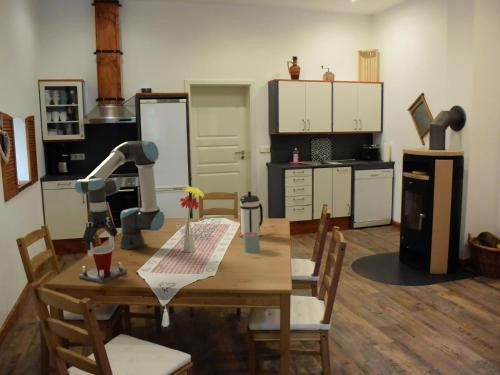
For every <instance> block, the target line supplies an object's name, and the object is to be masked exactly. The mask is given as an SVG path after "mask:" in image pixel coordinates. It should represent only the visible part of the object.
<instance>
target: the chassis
mask: <svg viewBox="0 0 500 375" xmlns="http://www.w3.org/2000/svg"><path fill="white" fill-rule="evenodd" d="M117 266H118V267H115V266H111V267H110V271H109V272H108V273H104V270H103V269H101V270H99V272H100V273H98V271H97V267H96V268H93V269H90V270H88V269H87V265H83V266H81V269H82V270H81V271H82V273H80V274H78V278H79V279H83V280H86V281H87V280H88V281H91V282H96V283H99V282H100V283H101V284H103V283H105V282H108V281H110V280H113V279H115V278H118V277H120V276H122V275H124V274H127V271H128V270H127V269H125V268H123V266H124V265H123V262H122V261H120V262H117ZM100 283H99V284H100Z"/></svg>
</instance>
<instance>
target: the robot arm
mask: <svg viewBox="0 0 500 375" xmlns="http://www.w3.org/2000/svg"><path fill="white" fill-rule="evenodd" d="M159 154H160V153H159V148H158V145H157V144H156V143H155V142H154V141H150V140H135V141H133V140H129V141H125V142H123V143H120V144H119V145H117V146H115V148H113V150H111V151H110V153H109V156H108V157H106V159H104V160H103V161H102V162H101V163H100V164H99V165H98V166H97V167H96V168H95V169H94V170H92V172H91V173H90V174H89V175H88V176H87V177H85V178H81V179H78V180H76V181H75V183H74V189H75V192H76V193H77V194H81V195H88V197H89V198H88V200H89V210H90V212H89V214H90V219H91V222H88V221H87V222H86V223H85V225H86V226H85V229H84V230H85V231H84V234H83V236H82V240H81V243H82V244H85V247H86V250H87V256H88V257H93V248H94V246H93V242H92V241H93V239H94V237H95V235H96V233H97V232H98V230H99V231H100V230H102V229H104V230H105V231H106V232H107V233H108V234H109V235H108V243H109V245H108V246H112V247H113V248H114V249H115V247H116V246H115V241H116V238H115V236H117V234H118V230H117V228H116V226H115V224H114V222H113V220H112V217H111V216H108V214H107V200H106V199H107V198H106V197H107V196H110V195H115V194H117V193H118V192H119V191H120V189H121V183H120V182H119V181H118V180H117V179H115V178H110V179H108V177H109V176H111V174H112V173H113V172H114V171H116V169H118V167H120V166H121V165H124V164H125V163H127V162H134V165H135V166H136V167H137V169H138V178H139V189H140V198H141V207H131V208H128V209H127V208H126V209H123V210H122V211H121V212H120V224H121V225H120V228H121V236H120V240H119V248H121V249H122V250H124V249H125V250H134V249H139V248H142V247H144V246H145V245H146V241H145V239H144V236H143V233H142V231H149V232H150V231H151V232H154V231H155V232H157V231H159V230H161V229H162V228H163V225H164V222H165V214H164V212H163V211H161V210H160V209H161V208H160V207H159V206H158V203H157V194H156V184H155V174H154V173H155V172H154V166H155V164H156V162H157V161H158V159H159ZM114 249H113V250H114Z"/></svg>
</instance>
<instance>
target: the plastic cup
mask: <svg viewBox="0 0 500 375" xmlns="http://www.w3.org/2000/svg"><path fill="white" fill-rule="evenodd" d="M113 252H114V248H113V247H112V246H110V245H99V246H95V247H93V256H92V257H93V260H94V263H95V266H96V268H97V271H98V273H100V272H99V270H101V269H103V270H104V273H108V272H109V271H110V267H112V257H113Z"/></svg>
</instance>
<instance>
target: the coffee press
mask: <svg viewBox="0 0 500 375" xmlns="http://www.w3.org/2000/svg"><path fill="white" fill-rule="evenodd" d="M239 203H240V204H239V209H240V210H239V212H240V213H239V214H240V215H239V218H240V219H239V220H240V233H239V234H238V236H239V238H242V236H243V234H244V233H246V232H257V233H259V237H262V233H261V229H260V227H261V226H262V224H263V222H264V221H263V220H264V210H263V204H261V202H260V198H259V196H258V195H255V194H252V191H247V194H244V195H242V196H241V197H240V198H239ZM260 234H261V235H260Z"/></svg>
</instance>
